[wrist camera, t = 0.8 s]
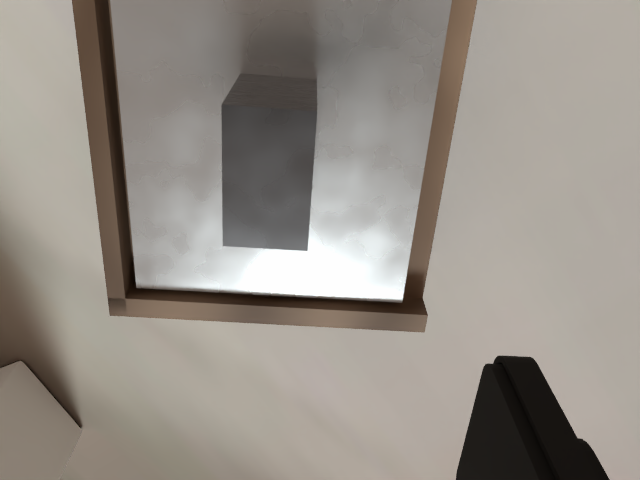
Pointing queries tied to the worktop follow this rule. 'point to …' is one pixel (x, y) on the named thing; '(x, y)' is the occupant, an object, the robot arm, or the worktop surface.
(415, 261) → the walnut box
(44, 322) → the worktop surface
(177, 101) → the cover plate
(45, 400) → the milk carton
